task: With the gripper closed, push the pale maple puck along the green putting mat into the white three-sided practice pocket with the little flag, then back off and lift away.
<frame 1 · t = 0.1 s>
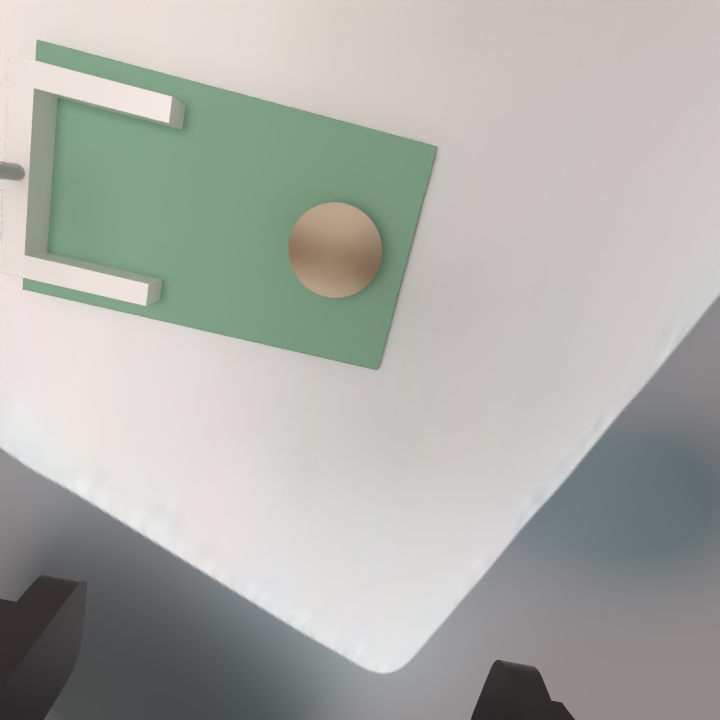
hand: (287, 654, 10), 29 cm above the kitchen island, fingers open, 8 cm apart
putting green: (226, 220, 35), on the kitchen island
puck: (336, 248, 35), point 1 cm above the kitchen island, touching putting green
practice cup: (112, 192, 34), resting on putting green
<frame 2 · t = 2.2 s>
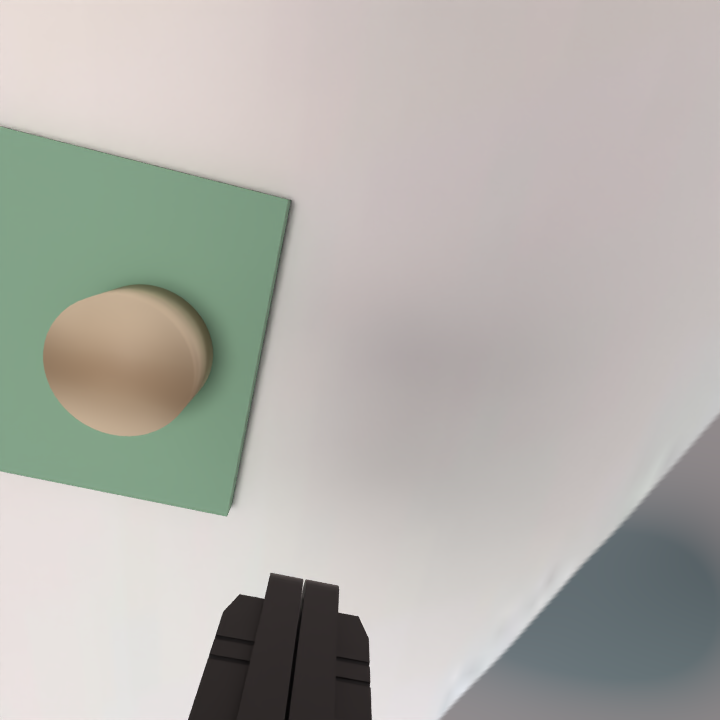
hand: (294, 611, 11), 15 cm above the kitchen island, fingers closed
puck: (147, 349, 23), point 1 cm above the kitchen island, touching putting green
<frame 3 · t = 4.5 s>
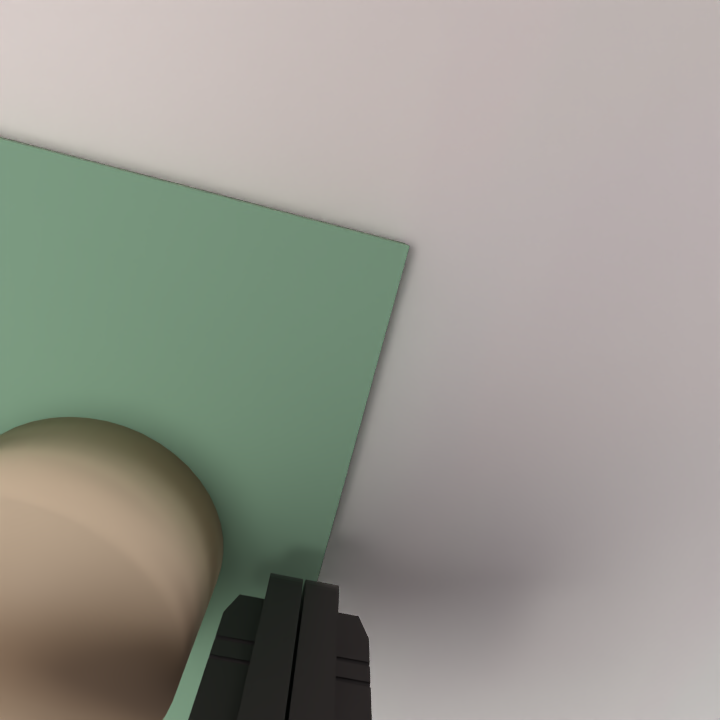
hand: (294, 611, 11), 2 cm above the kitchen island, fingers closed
puck: (90, 539, 11), point 1 cm above the kitchen island, touching gripper
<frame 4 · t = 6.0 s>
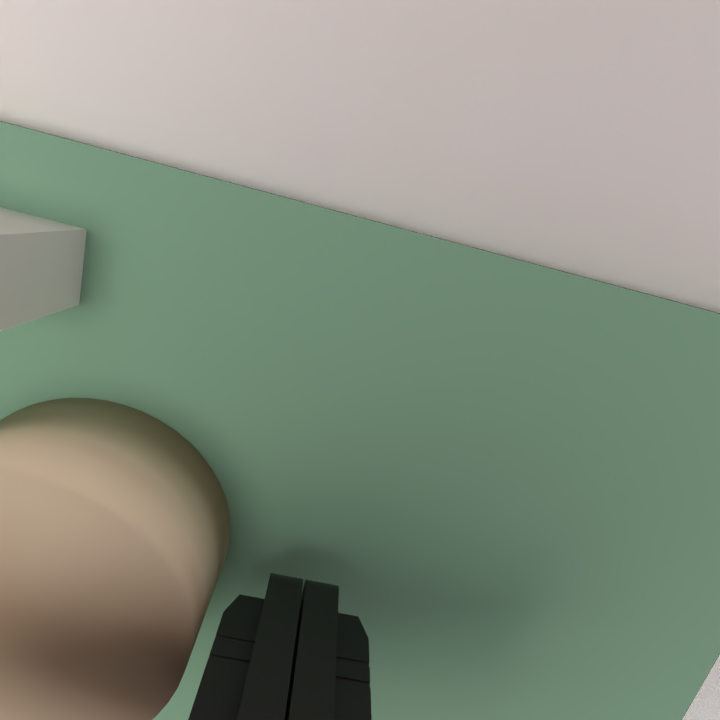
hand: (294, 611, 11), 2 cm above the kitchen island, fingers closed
putting green: (222, 522, 13), on the kitchen island
puck: (97, 521, 11), point 1 cm above the kitchen island, touching gripper
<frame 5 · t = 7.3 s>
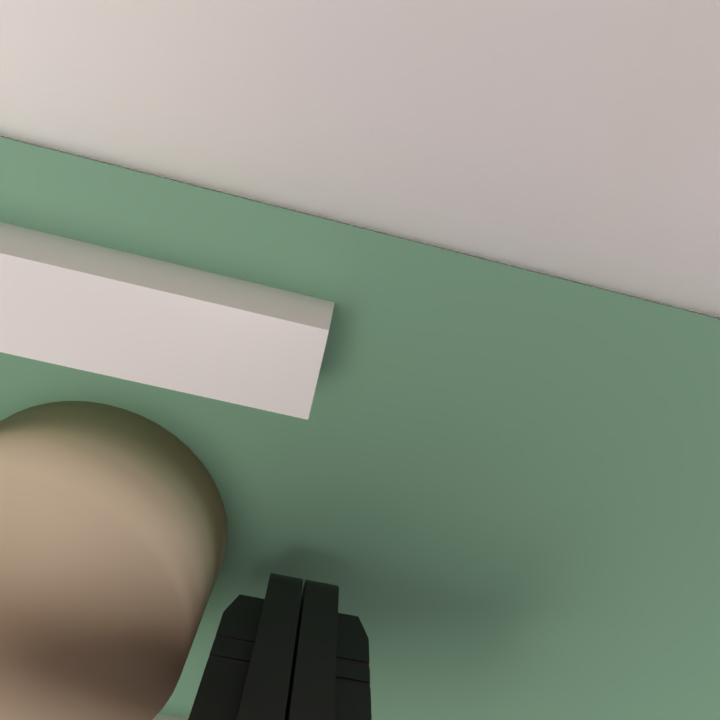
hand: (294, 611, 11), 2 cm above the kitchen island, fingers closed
putting green: (411, 569, 13), on the kitchen island
puck: (94, 524, 11), point 1 cm above the kitchen island, touching gripper, putting green
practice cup: (99, 536, 11), resting on putting green
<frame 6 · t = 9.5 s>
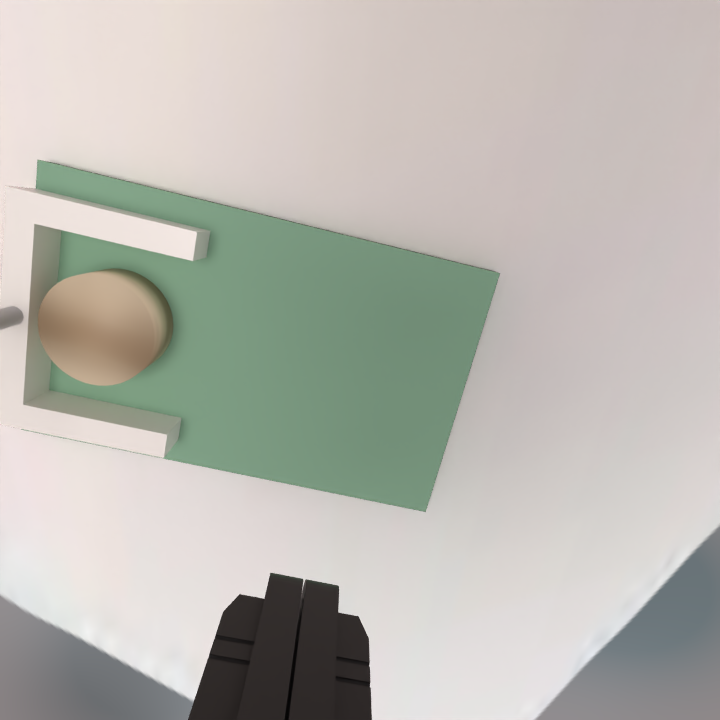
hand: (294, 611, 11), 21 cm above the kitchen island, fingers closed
putting green: (255, 350, 31), on the kitchen island
puck: (121, 320, 29), point 1 cm above the kitchen island, touching putting green
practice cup: (125, 325, 29), resting on putting green
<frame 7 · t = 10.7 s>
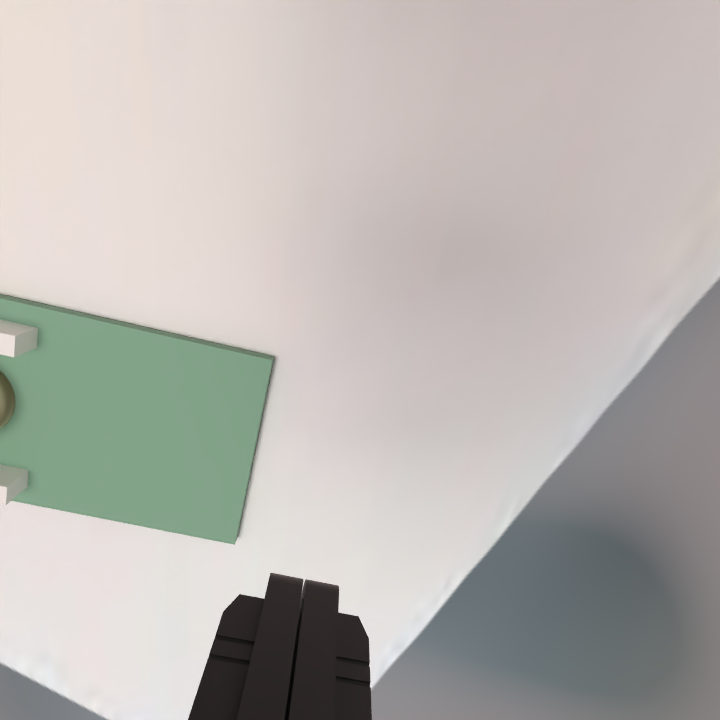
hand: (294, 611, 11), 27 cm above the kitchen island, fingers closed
putting green: (87, 416, 38), on the kitchen island
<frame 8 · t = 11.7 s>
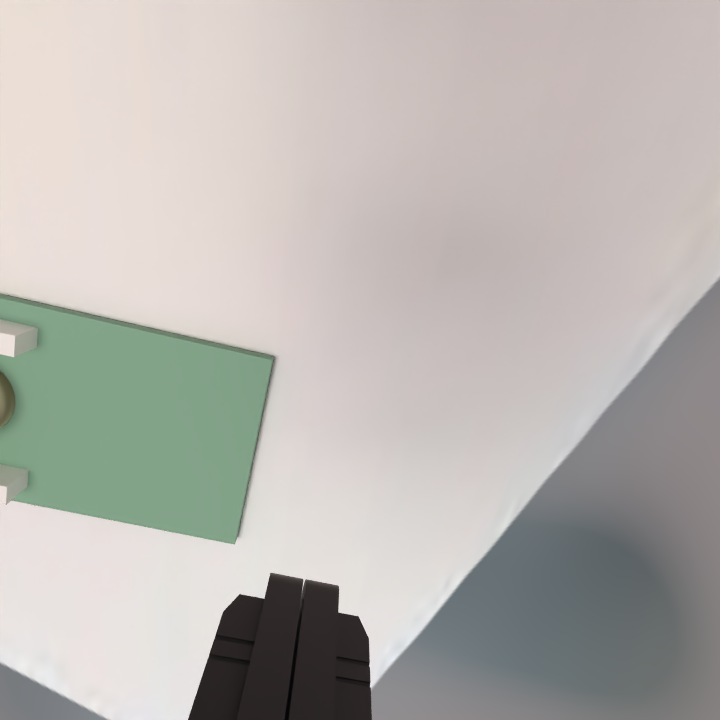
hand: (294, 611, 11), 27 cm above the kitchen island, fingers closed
putting green: (87, 415, 38), on the kitchen island
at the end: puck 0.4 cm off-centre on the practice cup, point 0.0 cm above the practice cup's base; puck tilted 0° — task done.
